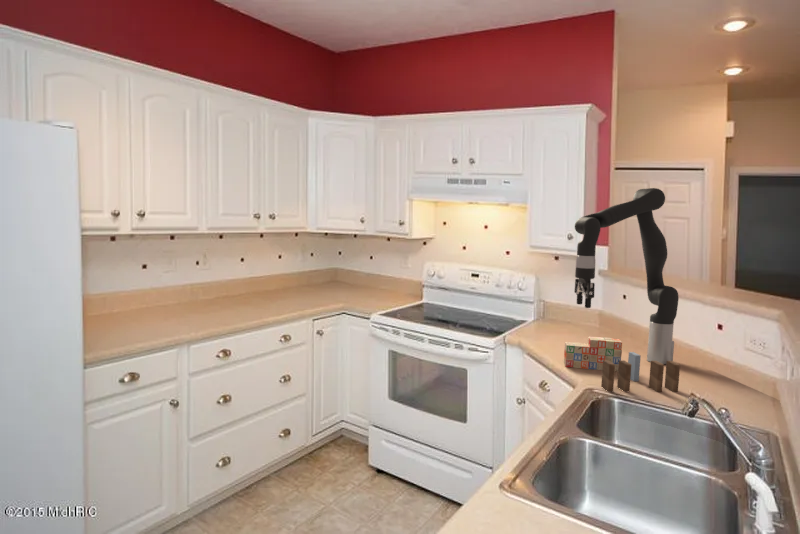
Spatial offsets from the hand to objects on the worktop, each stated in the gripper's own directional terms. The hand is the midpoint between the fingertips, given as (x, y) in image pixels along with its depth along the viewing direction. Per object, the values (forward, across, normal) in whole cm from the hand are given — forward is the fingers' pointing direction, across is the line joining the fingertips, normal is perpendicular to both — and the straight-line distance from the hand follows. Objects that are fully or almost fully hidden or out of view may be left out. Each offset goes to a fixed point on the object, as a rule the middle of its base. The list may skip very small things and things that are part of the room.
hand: (583, 306), depth 217 cm
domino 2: (+25, -17, -14) cm, 33 cm away
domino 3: (+25, -29, -16) cm, 42 cm away
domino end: (+25, -30, +2) cm, 39 cm away
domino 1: (+25, -30, -4) cm, 39 cm away
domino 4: (+25, -29, -22) cm, 44 cm away
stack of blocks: (+26, -2, -4) cm, 26 cm away
